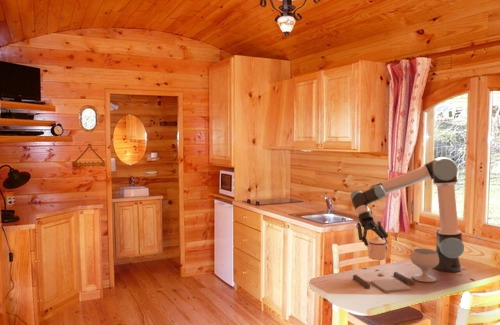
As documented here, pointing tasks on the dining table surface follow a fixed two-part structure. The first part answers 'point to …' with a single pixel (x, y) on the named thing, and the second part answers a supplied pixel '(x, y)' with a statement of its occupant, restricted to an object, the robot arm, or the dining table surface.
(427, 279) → the chalice
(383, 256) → the teacup with lid
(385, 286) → the slate tile
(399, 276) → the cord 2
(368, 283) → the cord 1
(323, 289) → the dining table surface
